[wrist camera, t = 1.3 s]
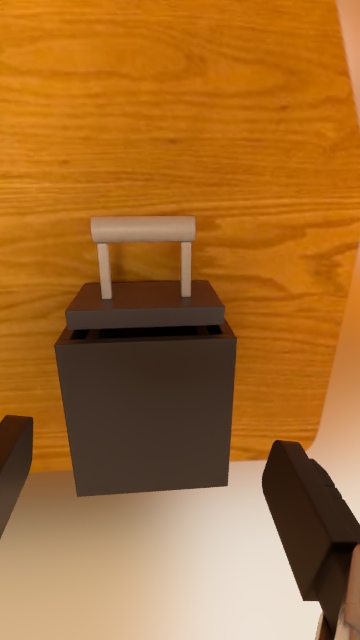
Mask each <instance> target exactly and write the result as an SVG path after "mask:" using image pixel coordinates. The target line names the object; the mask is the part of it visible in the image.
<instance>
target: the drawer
mask: <svg viewBox="0 0 360 640" xmlns="http://www.w3.org/2000/svg"><path fill="white" fill-rule="evenodd" d="M195 233H196V224H195V217H194V216H92V217H91V236H92V240H93V242H94V243H97V250H98V261H99V272H100V283H86V284H84V286H83V287H82V289H81V290H80V291H79V293H78V294H77V295H76V297H75V298H74V300H73V301H72V302H71V304H70V305H69V307H68V308H67V309H66V311H65V315H66V322H67V329H68V330H84V329H89V331H88V333H87V336H86V338H85V339H107V338H134V337H162V336H190V335H209V332H208V330H207V327H206V325H224V316H225V306H224V304H223V303H222V301H221V300H220V298H219V297H218V295H217V294H216V292H215V291H214V289H213V288H212V286H211V285H210V283H209V281H191V242H190V241H194V240H195ZM118 242H181V281H169V282H127V283H111V273H110V260H109V247H108V243H118Z"/></svg>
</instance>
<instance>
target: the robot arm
mask: <svg viewBox="0 0 360 640" xmlns="http://www.w3.org/2000/svg"><path fill="white" fill-rule="evenodd" d="M32 448H33V418H32V417H26V416H15V415H6V416H5V417H4V418H3V420H2V421H1V423H0V538H1V536H2V534H3V532H4V529H5V527H6V525H7V522H8V520H9V518H10V515H11V513H12V511H13V508H14V506H15V504H16V502H17V499H18V497H19V495H20V492H21V490H22V488H23V486H24V483H25V481H26V479H27V476H28V473H29V470H30V466H31V461H32ZM262 488H263V493H264V496H265V499H266V501H267V504H268V507H269V510H270V512H271V515H272V518H273V520H274V523H275V526H276V529H277V531H278V534H279V536H280V539H281V542H282V545H283V547H284V550H285V553H286V556H287V558H288V561H289V564H290V566H291V569H292V572H293V574H294V577H295V580H296V583H297V585H298V588H299V591H300V593H301V596H302V599H303V601H319V603H320V605H321V608H322V610H323V611H322V613H321V615H320V618H319V623H318V627H317V632H316V637H315V640H360V524H359V523H358V521H357V520H356V518H355V516H354V515H353V513H352V512H351V510H350V508H349V507H348V505H347V504H346V502H345V500H343V499H342V496H341V494H340V492H339V491H338V489H337V488H335V484H334V483H333V481H332V480H331V478H330V476H329V475H328V473H327V472H326V471H325V470H324V469H323V468H322V467H321V466H320V465H319V464H318V463H317V462H316V461H315V460H314V459H309V458H308V456H307V454H306V453H305V451H304V449H303V448H302V446H301V445H300V443H298V442H293V441H282V440H276V441H275V442H274V443H273V445H272V448H271V451H270V454H269V457H268V460H267V463H266V466H265V469H264V472H263V476H262Z"/></svg>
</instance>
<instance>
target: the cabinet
mask: <svg viewBox="0 0 360 640" xmlns="http://www.w3.org/2000/svg"><path fill="white" fill-rule="evenodd" d="M206 327H207V330H208V332H209V335H190V336H162V337H134V338H107V339H85V338H86V336H87V333H88V331H89V329H84V330H68V329H67V326H66V327H65V329H64V331H63V332H62V334H61V335H60V337H59V338H58V340H57V342H56V343H55V345H54V347H55V354H56V360H57V367H58V373H59V380H60V387H61V393H62V400H63V406H64V413H65V420H66V426H67V433H68V439H69V446H70V453H71V459H72V466H73V472H74V478H75V485H76V492H77V496H78V497H81V496H95V495H110V494H124V493H138V492H153V491H166V490H181V489H194V488H209V487H222V486H228V472H229V456H230V440H231V424H232V408H233V392H234V376H235V360H236V344H237V338H236V336H235V335H234V333H233V331H232V330H231V328H230V326H229V324H228V323H227V321H226V319H225V318H224V325H206Z"/></svg>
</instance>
